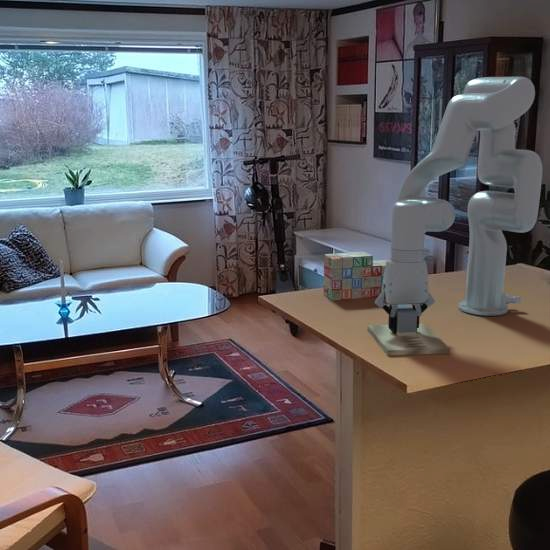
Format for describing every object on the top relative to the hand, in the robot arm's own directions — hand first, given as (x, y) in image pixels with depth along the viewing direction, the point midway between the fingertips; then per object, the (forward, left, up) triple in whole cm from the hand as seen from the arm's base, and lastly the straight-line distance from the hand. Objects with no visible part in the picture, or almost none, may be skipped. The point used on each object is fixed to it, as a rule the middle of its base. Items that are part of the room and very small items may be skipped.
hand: (403, 330), depth 166 cm
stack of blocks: (+1, -38, -2) cm, 38 cm away
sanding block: (0, -1, 0) cm, 1 cm away
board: (0, +3, -2) cm, 4 cm away
